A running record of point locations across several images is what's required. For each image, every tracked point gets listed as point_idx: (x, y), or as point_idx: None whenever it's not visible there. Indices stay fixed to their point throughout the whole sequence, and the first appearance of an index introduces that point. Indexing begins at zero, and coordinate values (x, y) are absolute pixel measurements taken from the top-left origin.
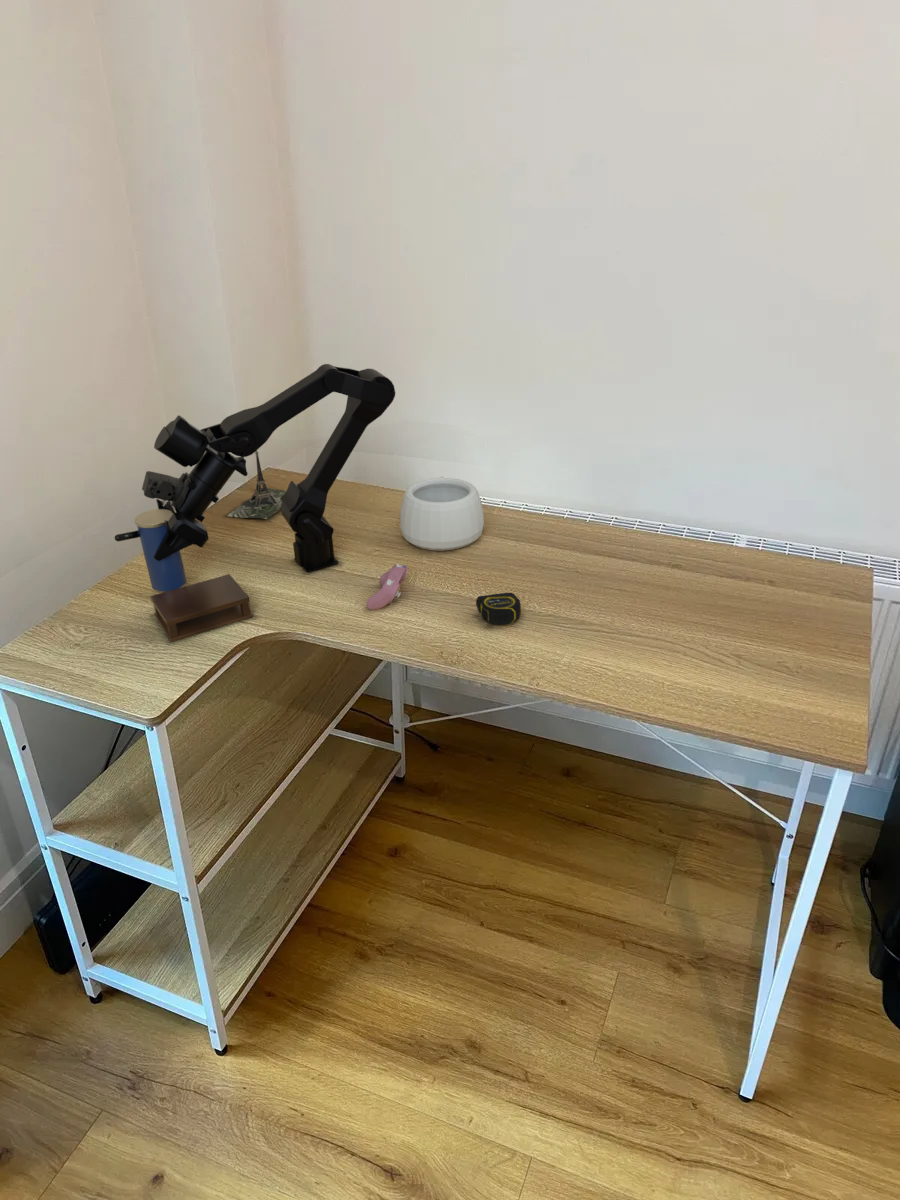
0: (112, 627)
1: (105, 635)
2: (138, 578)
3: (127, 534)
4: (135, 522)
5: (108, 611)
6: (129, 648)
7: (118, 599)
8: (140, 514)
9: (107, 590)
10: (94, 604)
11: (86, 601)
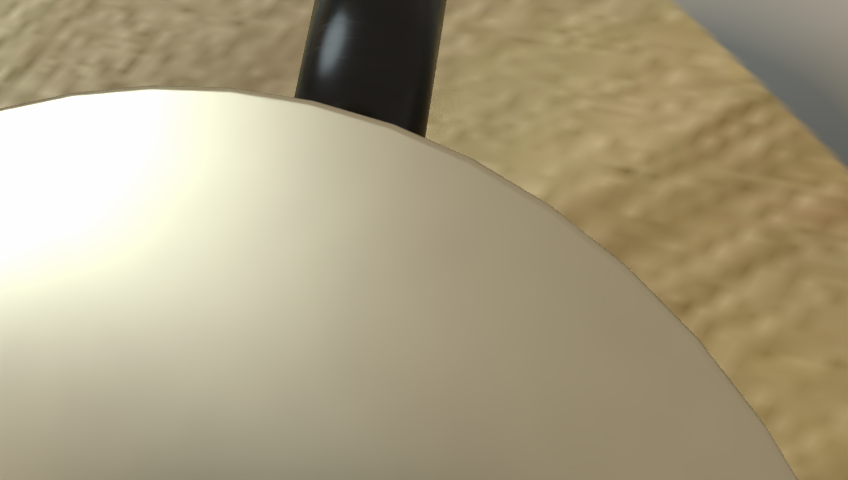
0: (253, 75)
1: (198, 33)
2: (791, 343)
3: (317, 20)
4: (138, 95)
5: (440, 90)
6: (3, 105)
7: (554, 165)
8: (675, 407)
9: (714, 133)
10: (570, 40)
11: (633, 10)
